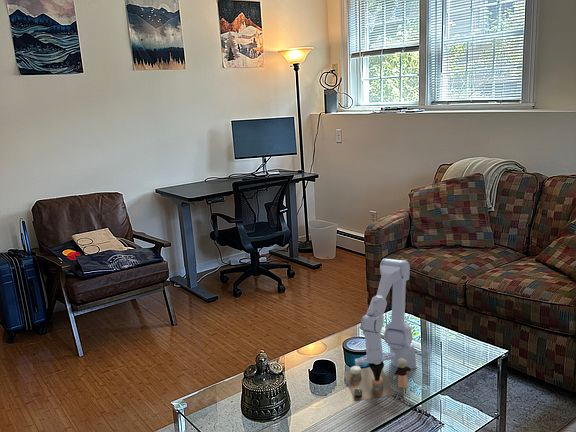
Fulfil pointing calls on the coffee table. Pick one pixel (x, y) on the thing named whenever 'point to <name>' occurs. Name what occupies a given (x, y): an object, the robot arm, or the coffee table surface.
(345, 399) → the coffee table surface
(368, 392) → the beige rectangular board
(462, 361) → the coffee table surface
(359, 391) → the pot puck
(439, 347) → the coffee table surface
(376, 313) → the robot arm
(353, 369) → the knob far
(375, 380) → the knob near
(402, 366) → the grandmother figurine
